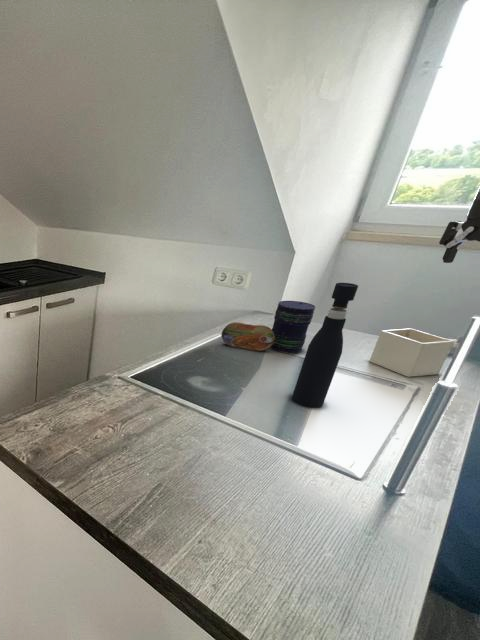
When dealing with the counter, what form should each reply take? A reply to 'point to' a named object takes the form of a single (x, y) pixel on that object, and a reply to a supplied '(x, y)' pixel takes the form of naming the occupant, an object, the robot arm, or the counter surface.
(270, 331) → the tin
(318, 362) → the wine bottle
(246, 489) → the counter surface
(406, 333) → the bin
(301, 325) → the storage jar
